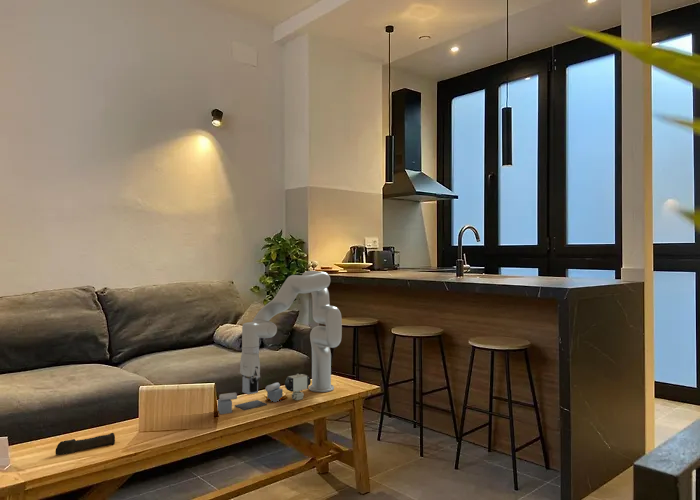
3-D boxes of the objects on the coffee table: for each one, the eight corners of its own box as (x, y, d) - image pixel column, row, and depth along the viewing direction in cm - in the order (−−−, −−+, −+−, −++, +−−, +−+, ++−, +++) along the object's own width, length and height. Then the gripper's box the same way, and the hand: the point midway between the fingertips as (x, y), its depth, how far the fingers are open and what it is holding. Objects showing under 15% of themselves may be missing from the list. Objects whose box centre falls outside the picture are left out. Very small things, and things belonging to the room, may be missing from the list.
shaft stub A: (274, 397, 250) (274, 381, 250) (282, 399, 247) (282, 382, 247) (263, 401, 244) (263, 385, 244) (271, 403, 241) (271, 386, 241)
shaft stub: (234, 408, 234) (234, 391, 234) (237, 411, 229) (237, 393, 229) (217, 411, 230) (217, 393, 230) (220, 414, 226) (220, 396, 226)
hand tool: (113, 442, 195) (113, 429, 195) (115, 445, 191) (115, 432, 191) (54, 453, 184) (54, 440, 184) (56, 457, 180) (56, 443, 180)
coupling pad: (257, 401, 245) (257, 399, 245) (267, 405, 239) (267, 403, 239) (234, 406, 237) (234, 405, 237) (243, 410, 231) (243, 409, 231)
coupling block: (252, 390, 241) (252, 373, 241) (258, 392, 237) (258, 375, 237) (242, 392, 238) (242, 375, 238) (248, 394, 234) (248, 377, 234)
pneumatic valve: (310, 398, 250) (310, 372, 249) (289, 402, 242) (289, 376, 242) (304, 395, 254) (304, 370, 254) (283, 399, 247) (283, 374, 247)
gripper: (233, 348, 241) (233, 388, 241) (253, 353, 229) (253, 395, 229) (247, 346, 246) (247, 385, 246) (268, 351, 234) (267, 392, 234)
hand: (250, 390), depth 238 cm, fingers closed on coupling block, 5 cm apart
